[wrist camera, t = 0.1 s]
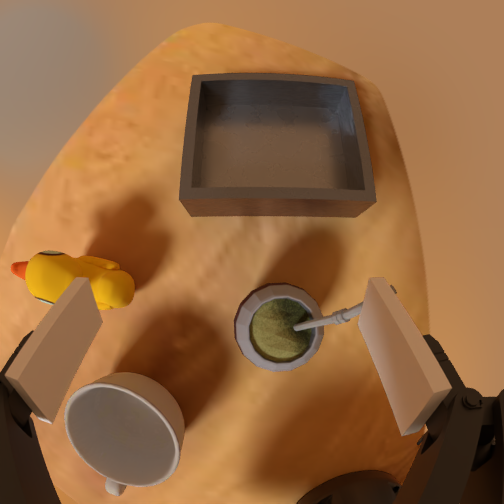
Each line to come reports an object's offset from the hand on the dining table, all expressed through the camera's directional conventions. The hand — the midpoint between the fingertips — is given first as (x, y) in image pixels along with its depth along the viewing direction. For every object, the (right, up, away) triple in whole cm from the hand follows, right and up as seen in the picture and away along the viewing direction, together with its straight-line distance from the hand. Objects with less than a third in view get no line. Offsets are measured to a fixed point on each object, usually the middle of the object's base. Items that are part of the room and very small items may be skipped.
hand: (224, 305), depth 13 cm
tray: (+4, +13, +17) cm, 22 cm away
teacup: (-11, -16, +13) cm, 23 cm away
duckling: (-15, -1, +15) cm, 21 cm away
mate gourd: (+4, -4, +15) cm, 16 cm away
